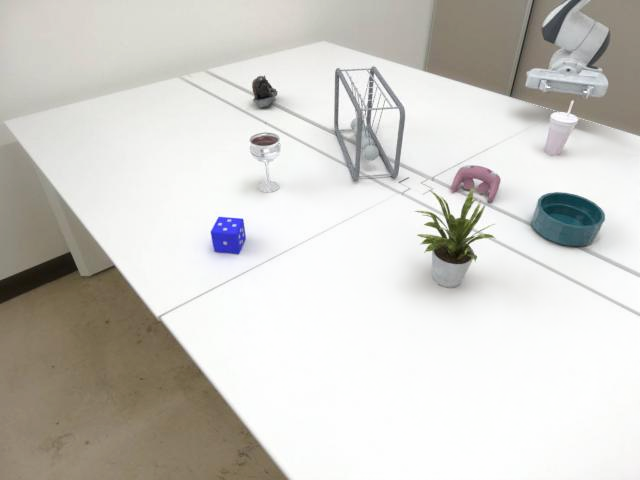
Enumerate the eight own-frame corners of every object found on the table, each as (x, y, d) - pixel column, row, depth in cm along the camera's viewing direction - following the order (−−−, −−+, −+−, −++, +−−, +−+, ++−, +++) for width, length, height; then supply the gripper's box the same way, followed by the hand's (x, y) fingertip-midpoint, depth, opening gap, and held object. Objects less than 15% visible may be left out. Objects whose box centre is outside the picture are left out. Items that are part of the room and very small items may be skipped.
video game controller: (494, 202, 103) (505, 172, 102) (492, 203, 99) (503, 172, 98) (452, 190, 107) (461, 161, 105) (448, 191, 103) (457, 160, 101)
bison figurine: (257, 96, 149) (254, 64, 143) (279, 96, 149) (277, 65, 142) (252, 111, 140) (248, 78, 133) (275, 111, 139) (272, 78, 133)
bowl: (583, 213, 97) (592, 194, 94) (604, 250, 88) (614, 229, 85) (524, 210, 98) (531, 190, 95) (538, 245, 89) (546, 225, 86)
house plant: (415, 240, 90) (427, 168, 80) (487, 257, 86) (510, 183, 76) (398, 288, 80) (409, 212, 70) (479, 309, 76) (504, 232, 66)
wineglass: (262, 197, 102) (257, 149, 95) (249, 184, 107) (243, 137, 99) (288, 188, 105) (286, 141, 98) (274, 175, 110) (270, 129, 102)
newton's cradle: (398, 181, 108) (406, 109, 97) (354, 184, 107) (358, 112, 95) (369, 126, 131) (374, 63, 120) (333, 129, 130) (334, 65, 119)
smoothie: (557, 160, 115) (577, 107, 106) (534, 151, 119) (551, 99, 110) (570, 152, 118) (590, 100, 110) (547, 144, 122) (564, 92, 113)
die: (214, 252, 88) (210, 231, 85) (221, 236, 92) (218, 216, 88) (239, 254, 87) (236, 234, 84) (246, 238, 91) (243, 218, 88)
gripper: (529, 59, 131) (527, 75, 121) (608, 68, 125) (613, 86, 115) (523, 81, 135) (521, 98, 125) (599, 91, 129) (603, 109, 119)
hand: (565, 92), depth 120 cm, fingers open, 8 cm apart
